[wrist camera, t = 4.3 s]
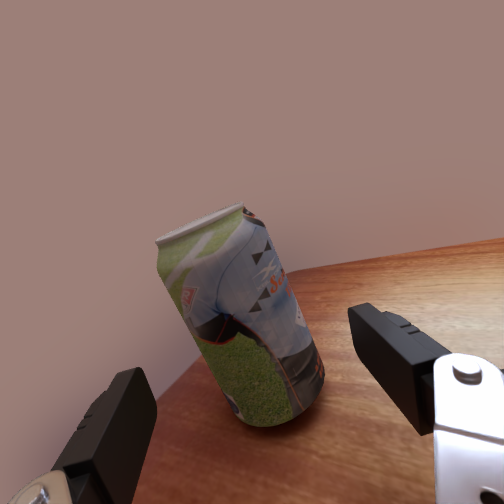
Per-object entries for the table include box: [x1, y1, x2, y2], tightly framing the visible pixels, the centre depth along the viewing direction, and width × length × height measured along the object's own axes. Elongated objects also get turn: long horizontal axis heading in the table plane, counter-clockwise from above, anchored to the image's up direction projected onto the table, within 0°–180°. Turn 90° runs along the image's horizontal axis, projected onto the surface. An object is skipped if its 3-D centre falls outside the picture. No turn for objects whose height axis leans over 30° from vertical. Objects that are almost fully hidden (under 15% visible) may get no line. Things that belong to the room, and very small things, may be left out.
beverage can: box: [155, 202, 325, 427], centre depth 16 cm, size 6×7×12 cm
